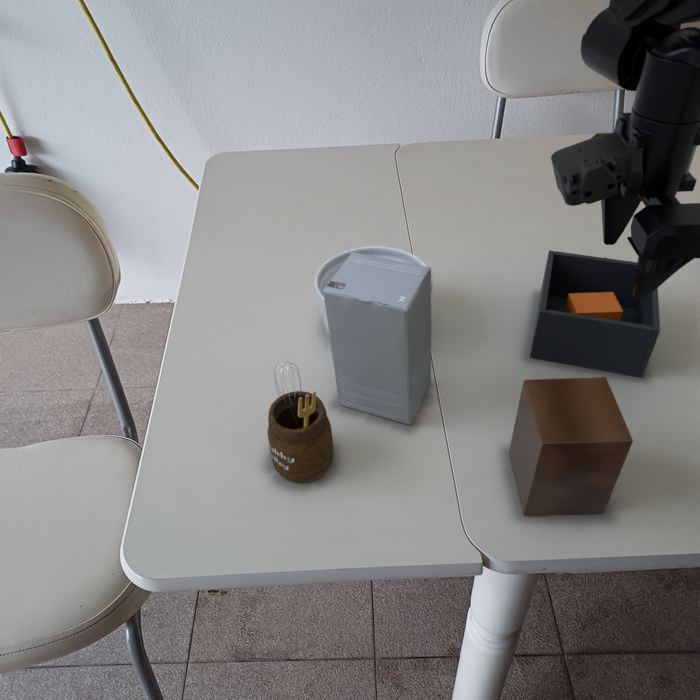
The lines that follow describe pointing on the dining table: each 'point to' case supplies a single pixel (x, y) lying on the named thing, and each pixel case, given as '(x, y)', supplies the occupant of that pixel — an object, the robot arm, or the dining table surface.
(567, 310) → the orange block
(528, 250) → the dining table surface
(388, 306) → the cosmetic box
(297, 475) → the utensil holder
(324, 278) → the ramekin
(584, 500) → the stand
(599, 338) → the open box
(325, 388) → the dining table surface
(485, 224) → the dining table surface
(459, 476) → the dining table surface
